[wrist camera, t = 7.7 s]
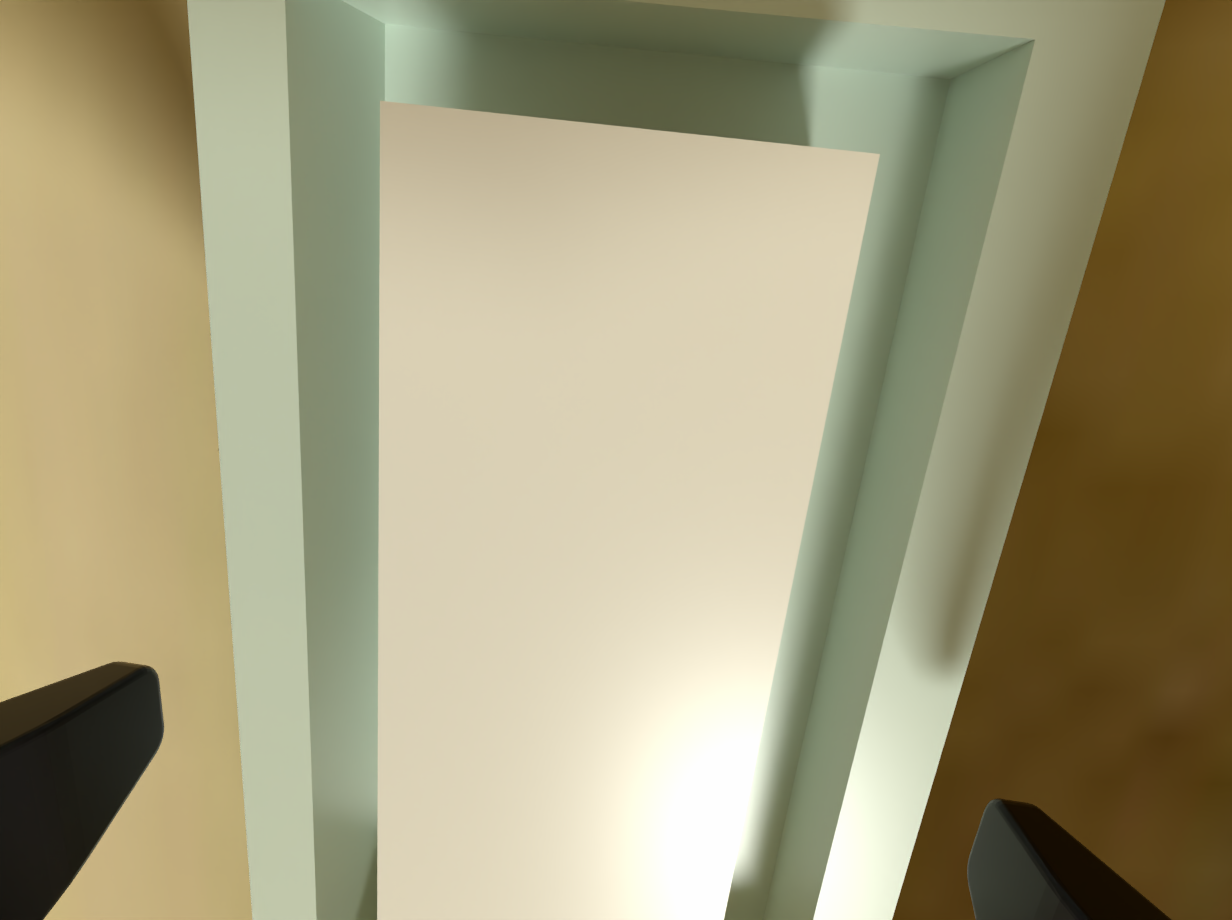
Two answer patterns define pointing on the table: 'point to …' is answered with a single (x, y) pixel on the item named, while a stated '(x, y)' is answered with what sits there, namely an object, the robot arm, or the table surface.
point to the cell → (590, 498)
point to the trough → (858, 409)
